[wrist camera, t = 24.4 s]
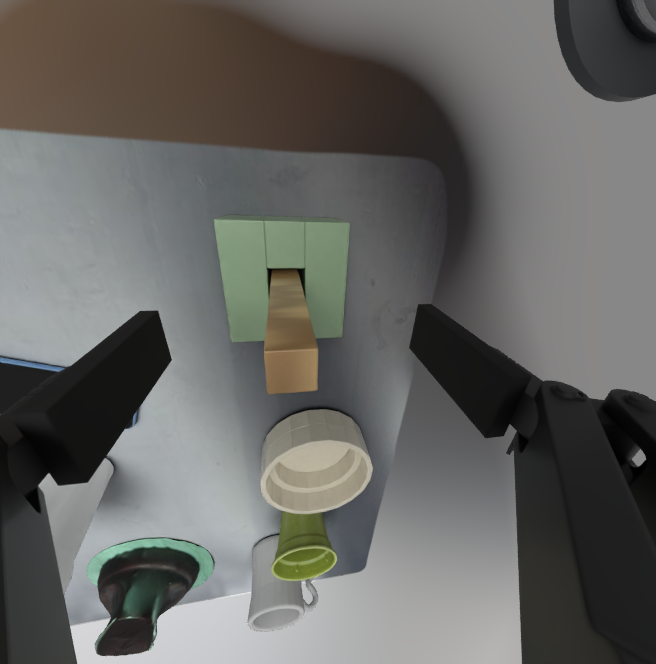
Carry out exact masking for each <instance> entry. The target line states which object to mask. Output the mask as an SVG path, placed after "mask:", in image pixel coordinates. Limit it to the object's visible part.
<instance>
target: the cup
mask: <svg viewBox="0 0 656 664" xmlns="http://www.w3.org/2000/svg"><path fill="white" fill-rule="evenodd" d="M113 470H114V467H113V465H112V464H111V462H110V461H109V460H107V459H106V458H104V460H103V461H102V463H101V464H100V466H99V467H98V469H97V470H96V472H95V473H94V475H93V476H92V477H91V479H90V480H89V482H88V483H81V484H72V485H63V486H58V485H57V483H56V482H55V481H54V479H53V478H52V476H51V475H50V473H48V475H47V476H46V477H45V478H44V479H43V480H42V482H41V483H40V484H39V485H38V486H39V488H40V489H41V490H42V492H43V493H44V497H45V502H46V507H47V512H48V517H49V522H50V527H51V533H52V538H53V543H54V548H55V553H56V558H57V563H58V568H59V573H60V579H61V584H62V589H63V594H65V592H66V590H67V587H68V585H69V583H70V580H71V578H72V572H73V566H74V560H75V558H76V556H77V553H78V551H79V549H80V546H81V544H82V542H83V539H84V537H85V535H86V533H87V530H88V528H89V526H90V523H91V521H92V519H93V516H94V514H95V512H96V510H97V507H98V505H99V503H100V500H101V498H102V496H103V493H104V491H105V489H106V487H107V484H108V482H109V480H110V478H111V476H112V475H113Z"/></svg>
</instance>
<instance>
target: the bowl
mask: <svg viewBox="0 0 656 664" xmlns="http://www.w3.org/2000/svg"><path fill="white" fill-rule="evenodd" d="M372 470H373V467H372V463H371V460H370V456H369V454H368V451H367V448H366V445H365V442H364V439H363V437H362V434H361V431H360V428H359V426H358V425H357V424H356V423H355V422H354V421H353V419H352V418H350V417H348V416H346V415H344V414H342V413H341V412H338V411H332V410H327V409H319V410H307V411H303V412H300V413H297V414H294V415H291V416H289V417H288V418H286V419H284V420H283V421H281V422H280V423H278V424H277V425H276V426H275V427H274V428H273V429H272V430H271V431H270V432H269V433H268V435H267V437H266V439H265V442H264V444H263V450H262V464H261V480H260V483H261V493H262V495H263V496H264V498H265V499H266V501H267V502H268V503H269V504H271V505H272V506H274V507H275V508H277V509H278V510H282V511H285V512H289V513H293V514H313V513H320V512H326V511H329V510H332V509H335V508H338V507H340V506H342V505H344V504H345V503H347V502H349V501H351V500H353V499H354V498H355V497H356V496H357V495H358V494H360V493H361V492H362V491H363V490H364V489H365V487H366V486H367V484H368V483H369V481H370V479H371V475H372Z"/></svg>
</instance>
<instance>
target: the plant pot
mask: <svg viewBox="0 0 656 664" xmlns="http://www.w3.org/2000/svg"><path fill="white" fill-rule="evenodd" d="M336 561H337V556H336V553H335V551H334V550H333V549H332V546H331V543H330V541H329V540H328V536H327V532H326V529H325V525H324V521H323V517H322V513H321V512H320V513H313V514H293V513H289V512H285V511H282V518H281V526H280V534H279V541H278V548H277V551H276V554H275V560H274V562H273V563H272V567H271V571H272V574H273V575H274V576H275V577H277V578H279V579H282V580H287V581H300V580H306V579H311V578H314V577H317V576H319V575H322V574H324V573H325V572H327V571H329V570H330V569H331V568H332V567H333V566H334V565H335V563H336Z"/></svg>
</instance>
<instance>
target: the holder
mask: <svg viewBox="0 0 656 664" xmlns="http://www.w3.org/2000/svg"><path fill="white" fill-rule="evenodd" d="M213 221H214V227H215V234H216V241H217V248H218V254H219V261H220V268H221V275H222V281H223V288H224V295H225V302H226V308H227V315H228V322H229V329H230V336H231V342H250V341H265V334H266V324H267V315H268V305H269V295H270V285H271V272H270V268H300V280H301V284H302V288H303V292H304V296H305V300H306V304H307V308H308V311H309V315H310V319H311V323H312V327H313V331H314V335H315V338H338V337H342V333H343V318H344V304H345V289H346V275H347V260H348V246H349V231H350V223H348V222H345V221H342V220H339V219H336V218H319V217H300V218H299V217H286V216H252V215H226V216H223V217H220V218H217V219H214V220H213Z"/></svg>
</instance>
